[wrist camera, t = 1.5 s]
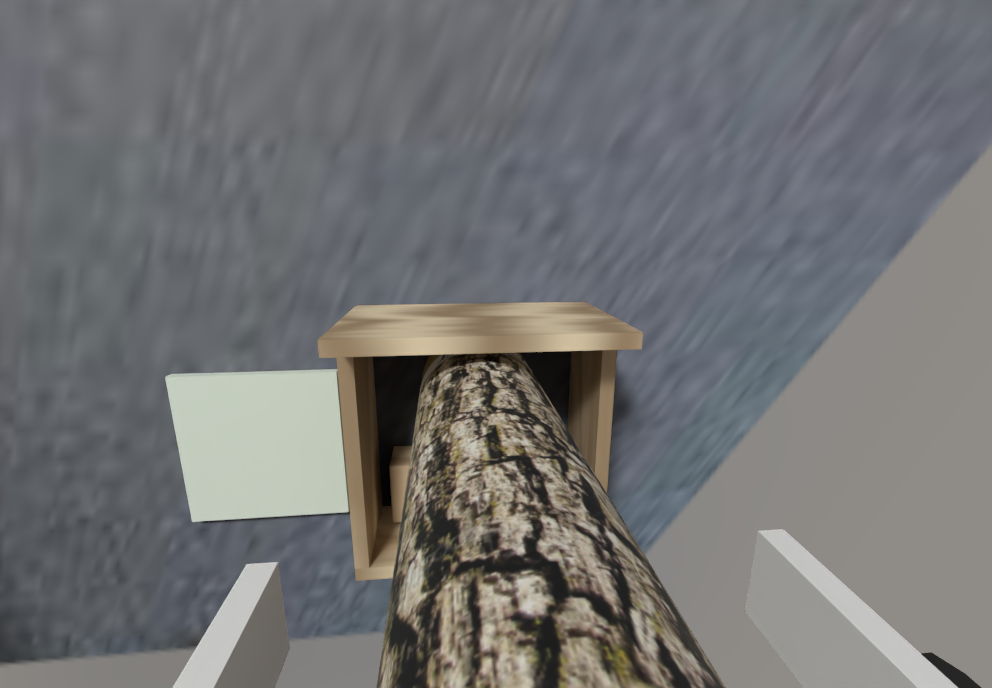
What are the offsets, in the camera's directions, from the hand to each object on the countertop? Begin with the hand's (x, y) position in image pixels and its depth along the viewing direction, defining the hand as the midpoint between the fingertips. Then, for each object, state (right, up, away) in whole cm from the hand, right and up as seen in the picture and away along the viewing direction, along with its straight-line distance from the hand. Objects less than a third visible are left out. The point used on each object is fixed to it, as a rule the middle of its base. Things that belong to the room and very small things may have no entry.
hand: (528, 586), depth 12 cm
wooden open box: (-2, +2, +18) cm, 19 cm away
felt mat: (-16, 0, +17) cm, 24 cm away
